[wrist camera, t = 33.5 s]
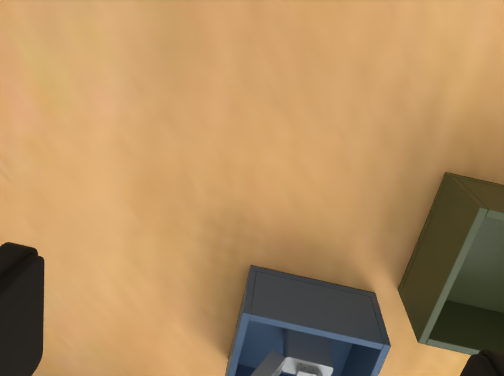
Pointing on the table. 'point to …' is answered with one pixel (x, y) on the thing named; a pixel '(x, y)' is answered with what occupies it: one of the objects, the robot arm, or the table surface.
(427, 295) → the bin
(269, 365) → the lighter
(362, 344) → the bin
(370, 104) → the table surface
